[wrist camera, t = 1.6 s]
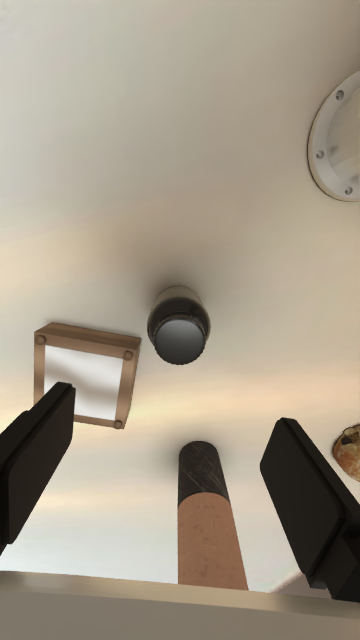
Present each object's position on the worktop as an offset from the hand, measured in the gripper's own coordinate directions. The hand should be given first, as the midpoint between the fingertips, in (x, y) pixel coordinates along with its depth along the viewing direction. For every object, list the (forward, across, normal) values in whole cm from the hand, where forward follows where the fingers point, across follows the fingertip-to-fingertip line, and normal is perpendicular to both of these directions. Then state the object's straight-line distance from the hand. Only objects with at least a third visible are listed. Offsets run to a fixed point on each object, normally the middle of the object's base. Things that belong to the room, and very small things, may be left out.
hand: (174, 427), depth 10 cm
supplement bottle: (+22, 0, 0) cm, 22 cm away
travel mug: (+22, -9, +26) cm, 35 cm away
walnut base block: (+22, +11, +12) cm, 27 cm away
